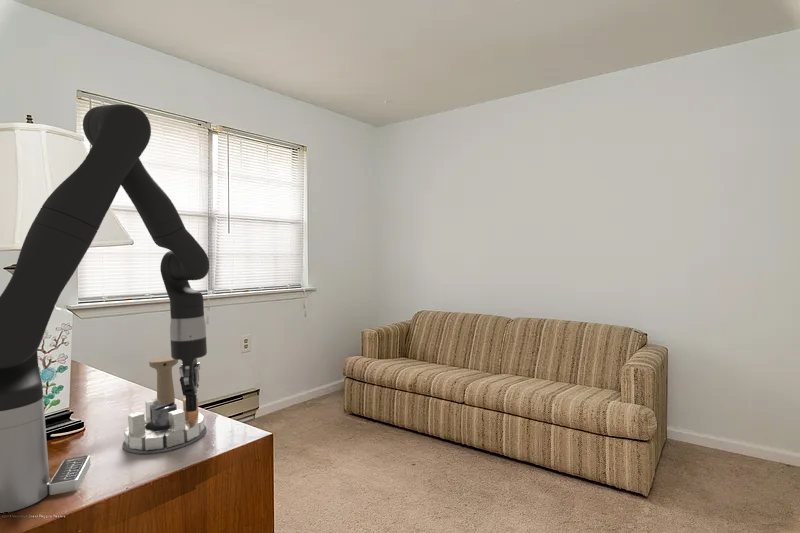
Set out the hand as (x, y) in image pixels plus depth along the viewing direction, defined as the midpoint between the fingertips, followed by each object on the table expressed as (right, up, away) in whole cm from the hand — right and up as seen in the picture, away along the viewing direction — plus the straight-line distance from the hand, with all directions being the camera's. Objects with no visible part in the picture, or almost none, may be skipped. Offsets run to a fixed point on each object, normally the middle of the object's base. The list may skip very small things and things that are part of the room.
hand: (191, 410), depth 109 cm
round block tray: (-5, -6, -2) cm, 8 cm away
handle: (-11, -5, +10) cm, 16 cm away
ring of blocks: (-5, -6, -2) cm, 8 cm away
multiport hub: (-14, -7, -20) cm, 25 cm away
